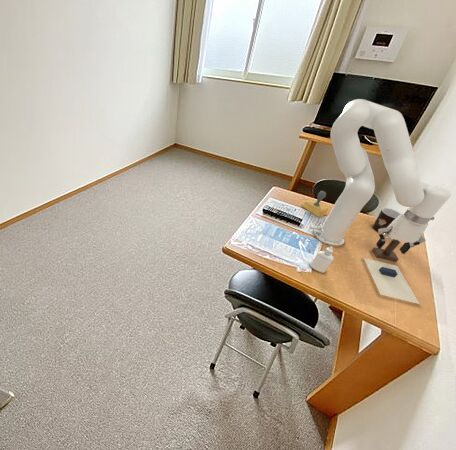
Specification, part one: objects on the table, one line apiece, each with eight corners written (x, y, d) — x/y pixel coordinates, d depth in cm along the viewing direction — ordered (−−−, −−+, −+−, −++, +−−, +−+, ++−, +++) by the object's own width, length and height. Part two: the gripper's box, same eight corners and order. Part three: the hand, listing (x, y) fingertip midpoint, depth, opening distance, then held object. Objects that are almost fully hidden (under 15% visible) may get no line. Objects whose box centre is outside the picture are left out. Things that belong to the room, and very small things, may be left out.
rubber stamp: (302, 206, 147) (311, 187, 139) (309, 204, 149) (319, 185, 142) (318, 217, 140) (329, 197, 132) (325, 214, 142) (336, 195, 135)
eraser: (381, 274, 109) (383, 271, 108) (378, 270, 111) (381, 266, 110) (394, 277, 108) (397, 274, 107) (392, 273, 110) (395, 269, 109)
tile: (379, 296, 101) (380, 294, 101) (362, 259, 117) (363, 258, 116) (418, 305, 99) (420, 304, 98) (395, 267, 114) (397, 265, 114)
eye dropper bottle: (319, 274, 107) (333, 253, 100) (308, 264, 111) (321, 243, 104) (327, 272, 109) (342, 250, 101) (315, 262, 113) (329, 241, 105)
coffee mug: (366, 223, 139) (377, 207, 133) (382, 224, 139) (395, 208, 133) (380, 238, 130) (393, 221, 124) (397, 239, 130) (411, 223, 124)
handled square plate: (374, 259, 118) (388, 242, 112) (370, 251, 121) (383, 235, 115) (394, 263, 116) (409, 247, 110) (390, 255, 120) (404, 239, 114)
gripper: (437, 216, 106) (408, 248, 117) (388, 206, 109) (364, 239, 120) (447, 227, 101) (416, 260, 111) (395, 216, 104) (370, 250, 114)
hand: (389, 249), depth 116 cm, fingers open, 8 cm apart
